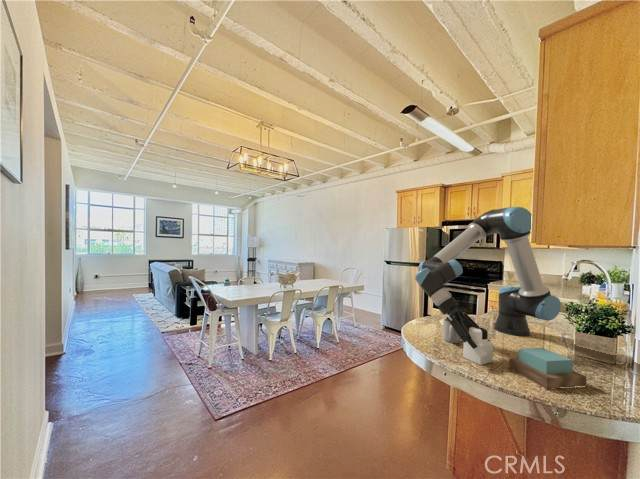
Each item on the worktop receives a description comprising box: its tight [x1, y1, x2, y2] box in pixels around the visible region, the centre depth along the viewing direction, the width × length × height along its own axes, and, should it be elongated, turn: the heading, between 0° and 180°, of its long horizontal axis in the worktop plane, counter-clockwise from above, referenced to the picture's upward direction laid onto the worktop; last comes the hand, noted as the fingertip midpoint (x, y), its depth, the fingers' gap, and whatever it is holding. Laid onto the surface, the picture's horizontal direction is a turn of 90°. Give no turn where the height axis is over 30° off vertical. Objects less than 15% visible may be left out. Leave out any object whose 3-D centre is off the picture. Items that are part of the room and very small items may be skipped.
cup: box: [442, 318, 462, 344], centre depth 122 cm, size 7×10×9 cm
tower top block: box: [517, 347, 574, 374], centre depth 92 cm, size 10×10×4 cm
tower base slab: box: [508, 357, 587, 390], centre depth 91 cm, size 14×14×4 cm
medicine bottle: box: [462, 326, 494, 366], centre depth 103 cm, size 7×7×12 cm
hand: (487, 352), depth 101 cm, fingers closed on medicine bottle, 9 cm apart
